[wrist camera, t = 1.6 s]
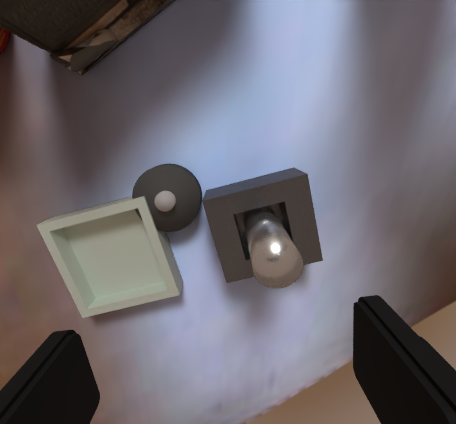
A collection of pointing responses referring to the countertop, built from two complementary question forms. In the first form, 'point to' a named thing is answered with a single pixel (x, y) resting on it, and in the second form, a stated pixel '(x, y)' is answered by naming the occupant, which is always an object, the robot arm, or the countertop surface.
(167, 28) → the countertop surface
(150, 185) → the wheel
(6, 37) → the canned food
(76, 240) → the parts tray
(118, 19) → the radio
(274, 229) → the pin
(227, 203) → the block
